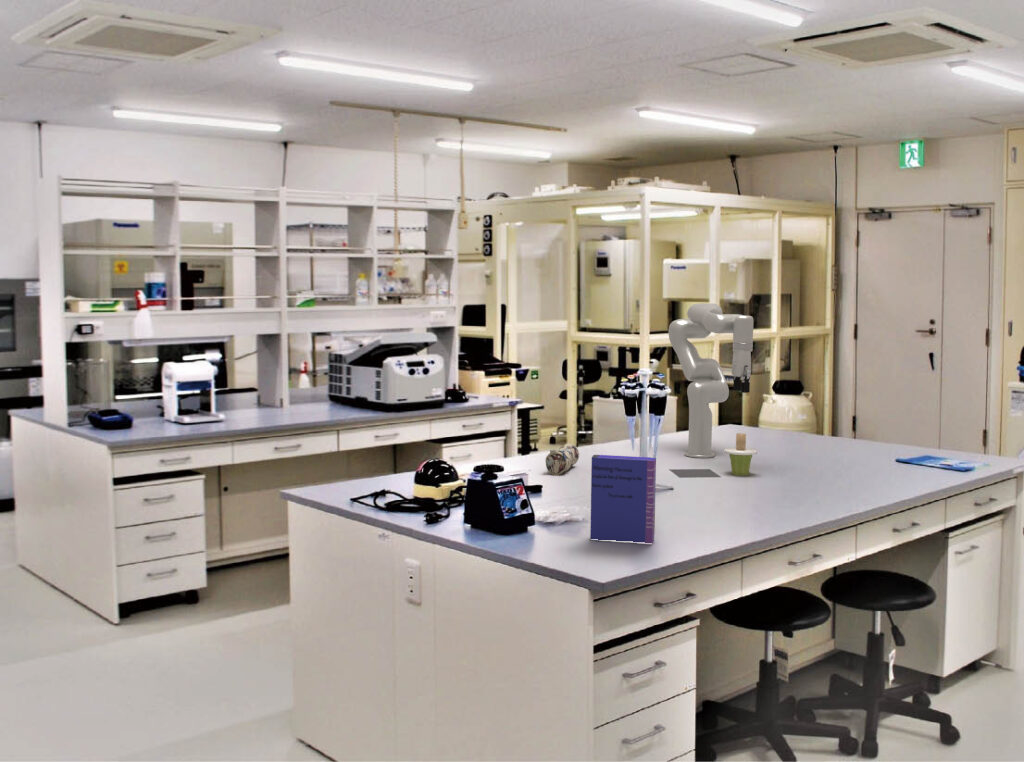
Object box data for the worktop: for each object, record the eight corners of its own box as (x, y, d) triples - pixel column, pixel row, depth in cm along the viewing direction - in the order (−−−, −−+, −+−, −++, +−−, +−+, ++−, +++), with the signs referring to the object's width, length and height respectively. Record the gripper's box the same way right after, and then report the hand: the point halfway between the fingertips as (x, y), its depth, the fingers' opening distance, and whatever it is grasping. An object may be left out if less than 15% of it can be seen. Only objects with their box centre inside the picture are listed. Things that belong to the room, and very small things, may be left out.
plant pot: (724, 475, 386) (725, 453, 385) (731, 471, 394) (732, 449, 393) (749, 478, 382) (749, 455, 381) (755, 474, 390) (756, 451, 389)
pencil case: (566, 476, 383) (566, 450, 382) (544, 475, 385) (544, 449, 384) (579, 466, 404) (580, 441, 403) (558, 465, 406) (559, 440, 405)
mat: (668, 470, 396) (668, 469, 396) (709, 470, 397) (709, 469, 397) (679, 478, 380) (679, 477, 380) (721, 478, 381) (721, 477, 381)
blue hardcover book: (654, 541, 289) (656, 457, 287) (652, 545, 285) (654, 460, 282) (593, 536, 294) (594, 453, 291) (590, 540, 289) (591, 456, 287)
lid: (720, 449, 392) (720, 431, 392) (750, 449, 394) (751, 431, 393) (730, 455, 381) (730, 436, 380) (761, 454, 382) (762, 436, 381)
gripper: (726, 345, 406) (725, 388, 407) (740, 348, 389) (738, 393, 390) (745, 345, 406) (743, 388, 408) (759, 348, 389) (757, 393, 391)
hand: (741, 391), depth 399 cm, fingers open, 9 cm apart
